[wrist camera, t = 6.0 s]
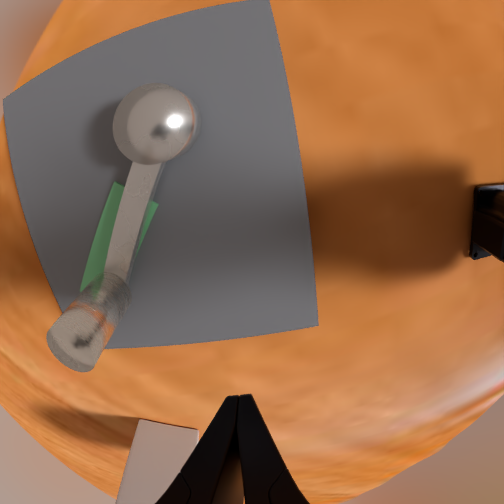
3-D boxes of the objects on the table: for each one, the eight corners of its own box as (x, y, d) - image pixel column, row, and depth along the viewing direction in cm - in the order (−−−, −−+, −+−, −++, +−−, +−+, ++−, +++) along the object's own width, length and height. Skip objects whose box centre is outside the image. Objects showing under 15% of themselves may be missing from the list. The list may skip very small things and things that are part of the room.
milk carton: (139, 417, 28) (102, 558, 11) (199, 428, 29) (182, 578, 11) (146, 444, 31) (120, 563, 13) (198, 454, 31) (185, 578, 14)
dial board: (266, 10, 14) (268, -4, 12) (313, 310, 22) (319, 327, 20) (18, 99, 15) (1, 99, 13) (90, 335, 24) (81, 350, 21)
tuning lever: (149, 82, 14) (87, 56, 7) (213, 103, 14) (186, 82, 8) (86, 315, 20) (43, 377, 13) (132, 337, 20) (99, 406, 14)
